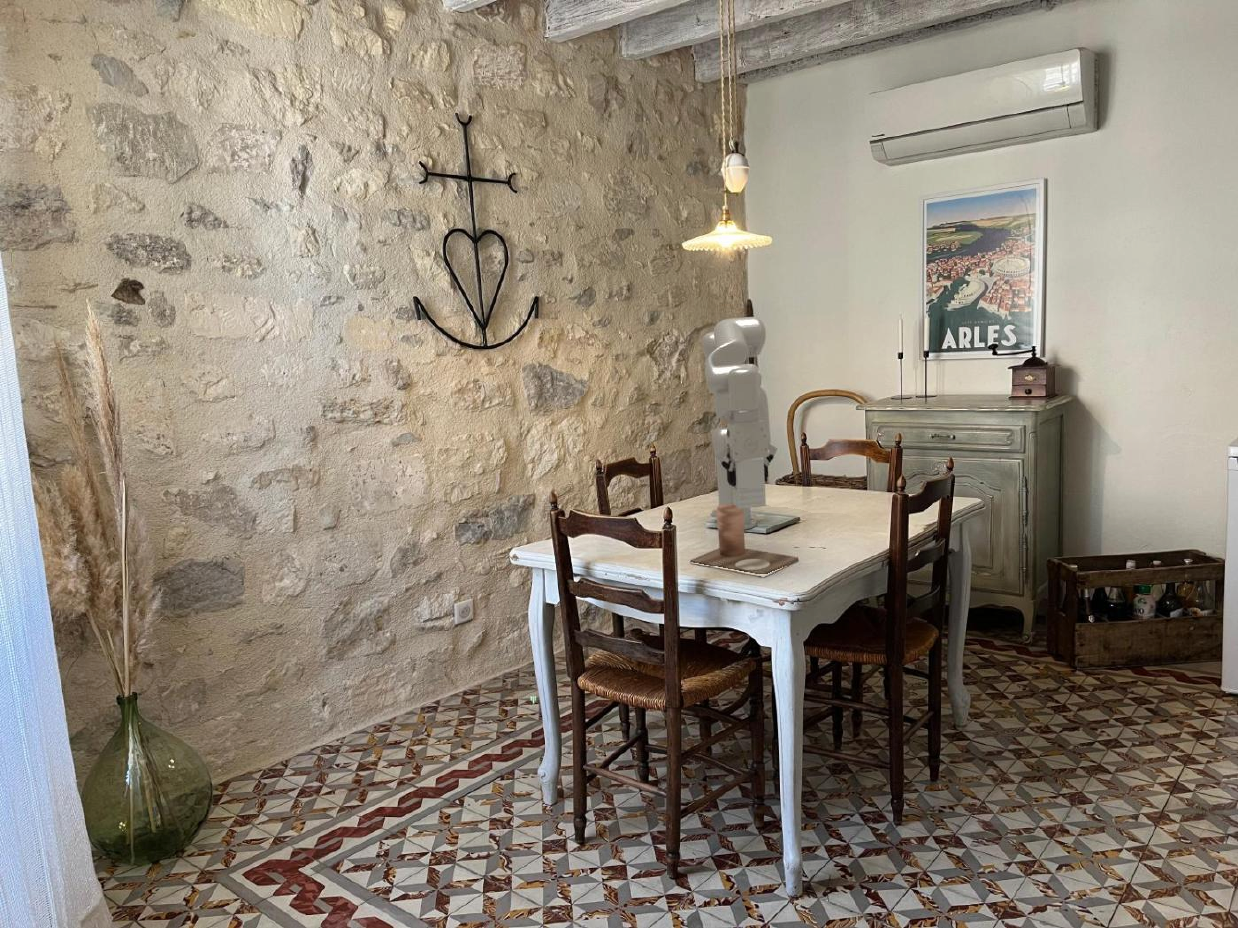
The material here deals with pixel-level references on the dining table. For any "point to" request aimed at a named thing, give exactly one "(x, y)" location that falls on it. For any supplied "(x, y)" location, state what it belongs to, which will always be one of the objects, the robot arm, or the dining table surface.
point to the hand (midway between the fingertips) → (748, 482)
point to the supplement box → (749, 483)
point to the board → (748, 555)
